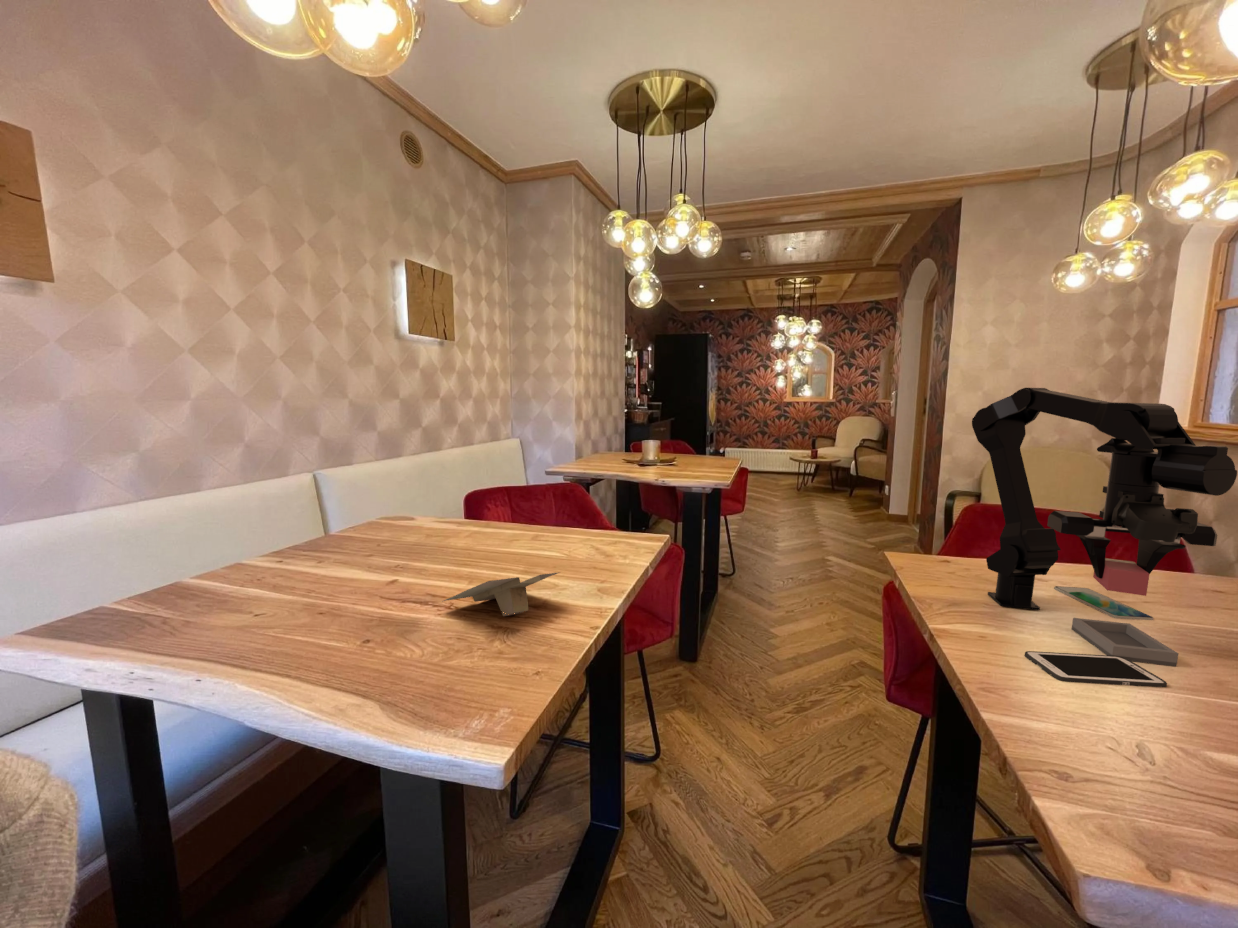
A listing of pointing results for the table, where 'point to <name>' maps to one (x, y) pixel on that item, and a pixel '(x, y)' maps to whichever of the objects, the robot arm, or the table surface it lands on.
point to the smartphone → (1103, 603)
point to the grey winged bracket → (503, 593)
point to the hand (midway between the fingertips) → (1119, 579)
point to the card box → (1124, 577)
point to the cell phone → (1094, 669)
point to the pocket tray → (1124, 641)
